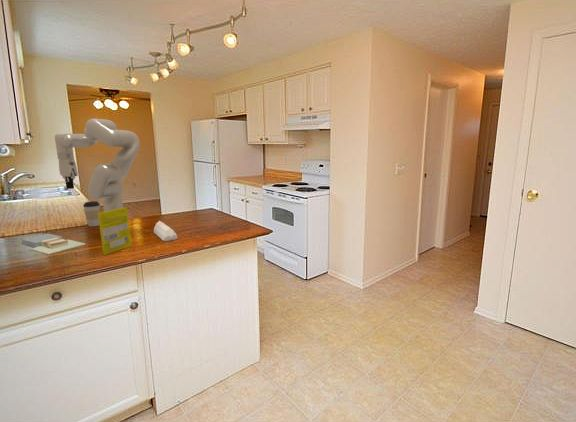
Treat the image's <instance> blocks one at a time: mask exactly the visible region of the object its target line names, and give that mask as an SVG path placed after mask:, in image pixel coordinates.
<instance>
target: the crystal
mask: <svg viewBox="0 0 576 422" xmlns="http://www.w3.org/2000/svg"><path fill="white" fill-rule="evenodd" d="M153 233H154V234H155V235H156V236H157V237H159V239H161V240H162V241H163V242H171V241H176V240H177V239H178V235H177V233H176V232H175V231H174V229H172V228H171V227H169V226H168V225H167V224H166V223H164V222H163V221H161V220H158V222H156V223H155V226H154V228H153Z"/></svg>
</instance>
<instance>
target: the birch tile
mask: <svg viewBox="0 0 576 422" xmlns="http://www.w3.org/2000/svg"><path fill="white" fill-rule="evenodd" d="M41 245H42V246H44V247H47V248H51V249H54V248H58V247H62V246H66V245H68V239H64V238H63V239H61V238H52V239H48V240H44V241H41Z"/></svg>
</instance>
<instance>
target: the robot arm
mask: <svg viewBox="0 0 576 422" xmlns="http://www.w3.org/2000/svg"><path fill="white" fill-rule="evenodd" d="M54 142H55V148H56V156H57V159H58V170H59V174H60V176H61V177H62V178H63V179H64V182H65V186H66V187H65V188H66V189H68V190H70V189H74V188H75V187H74V179H75V180H76V177H78V175H79V173H78V168H77V163H76V161H75V156H74V155H75V154H74V150H73V148H89V147H92V146H95V145H97V144H98V142H101V143H102V144H103V145H106V146H107V147H111V148H112V147H113V148H118V147H119V148H120V149H119V150H118V151H117V153H116V154H115V156H114V158H113V160H112V162H110V163H101V164H99V165H97V166H96V167H95V168H94V170H93V172H92V175H91V178H90V179H89V183H88V185H87V194H88V195H89V197H91V198H93V199H97V200H98V199H103V198H104V199H103V205H102V207H103V212H105V211H110V210H115V209H119V208H124V203H123V195H124V185H123V183H122V181H123V180H124V179H125V178H126V177H127V175H128V173H129V171H130V169H131V167H132V165H133V162H134V160H135V159H136V157H137V156H138V153H139V151H140V146H141V144H140V143H141V142H140V139H139V136H138V135H137V134H136V133H135V132H133V131H131V130H126V129H118V127H117V124H116V123H115V122H114V121H112V120H109V119H104V118H97V117H96V118H95V117H94V118H90V119H88V120H87V121H86V123H85V127H84V129H83V133H57V134H55V135H54ZM121 147H122V148H121Z"/></svg>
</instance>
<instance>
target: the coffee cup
mask: <svg viewBox="0 0 576 422" xmlns="http://www.w3.org/2000/svg"><path fill="white" fill-rule="evenodd" d="M100 205H101V204H100V203H99V201H98V200H96V201H94V200H93V201H87V202H86V201H85V202H84V203H83V209H84V210H83V211H84V217H85V219H86V223H87V226H89V227H96V226H99V218H98V213H101V206H100Z"/></svg>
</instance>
